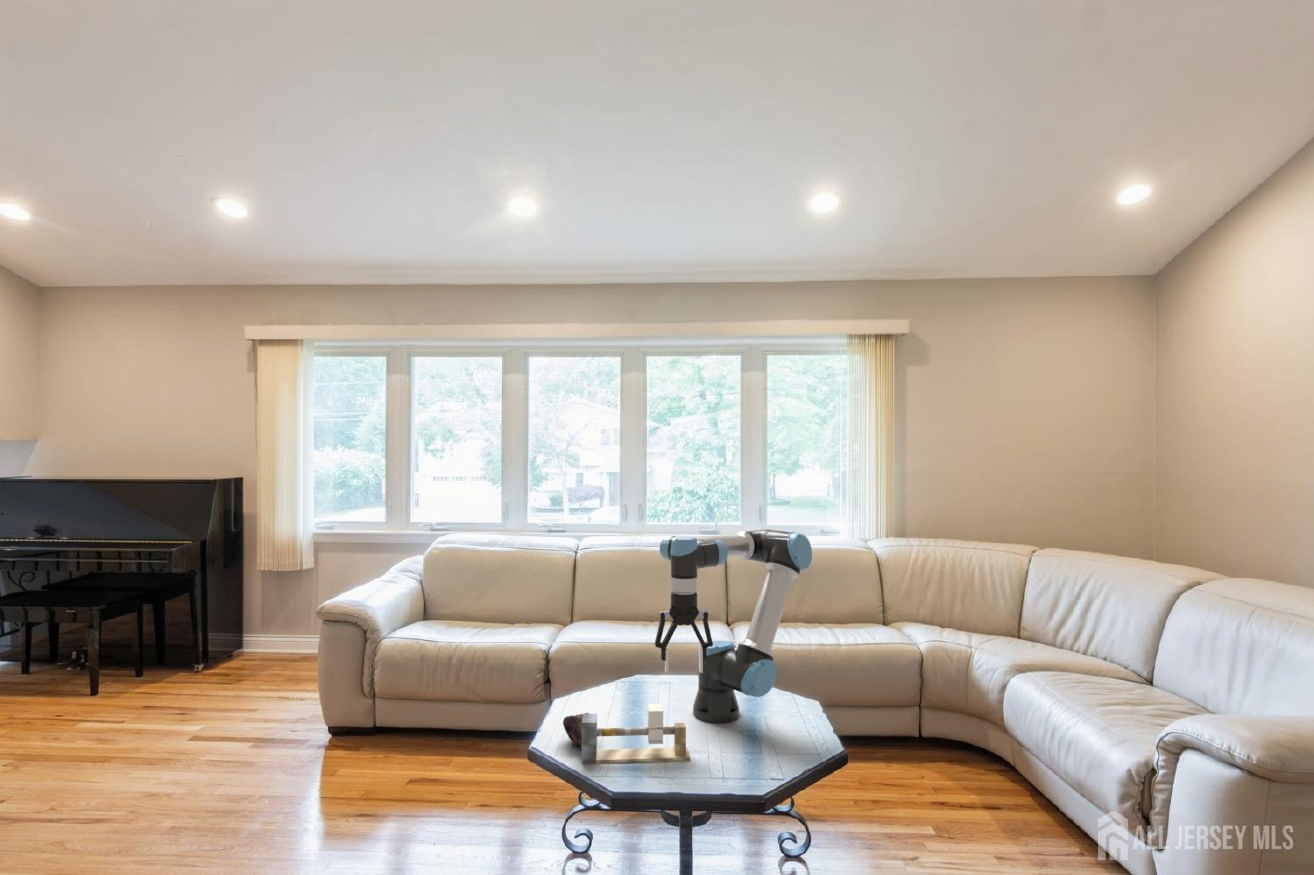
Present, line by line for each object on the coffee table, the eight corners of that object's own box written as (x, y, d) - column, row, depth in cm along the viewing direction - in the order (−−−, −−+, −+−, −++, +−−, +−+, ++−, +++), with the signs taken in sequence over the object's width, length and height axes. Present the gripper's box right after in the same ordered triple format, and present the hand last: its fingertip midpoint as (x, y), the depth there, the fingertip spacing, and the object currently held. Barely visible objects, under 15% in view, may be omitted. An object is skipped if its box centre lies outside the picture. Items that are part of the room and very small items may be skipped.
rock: (595, 738, 189) (562, 738, 188) (596, 708, 191) (563, 708, 190) (596, 749, 178) (560, 750, 177) (597, 717, 179) (562, 718, 178)
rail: (687, 750, 179) (687, 711, 179) (690, 760, 173) (690, 720, 173) (582, 753, 177) (583, 713, 177) (581, 763, 171) (581, 722, 171)
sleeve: (661, 735, 178) (661, 703, 178) (663, 743, 173) (663, 711, 173) (647, 736, 178) (647, 704, 178) (648, 744, 173) (648, 711, 173)
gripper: (719, 588, 182) (719, 666, 181) (645, 589, 180) (644, 667, 180) (724, 594, 174) (723, 675, 174) (646, 594, 173) (646, 676, 172)
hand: (683, 671), depth 177 cm, fingers open, 9 cm apart
